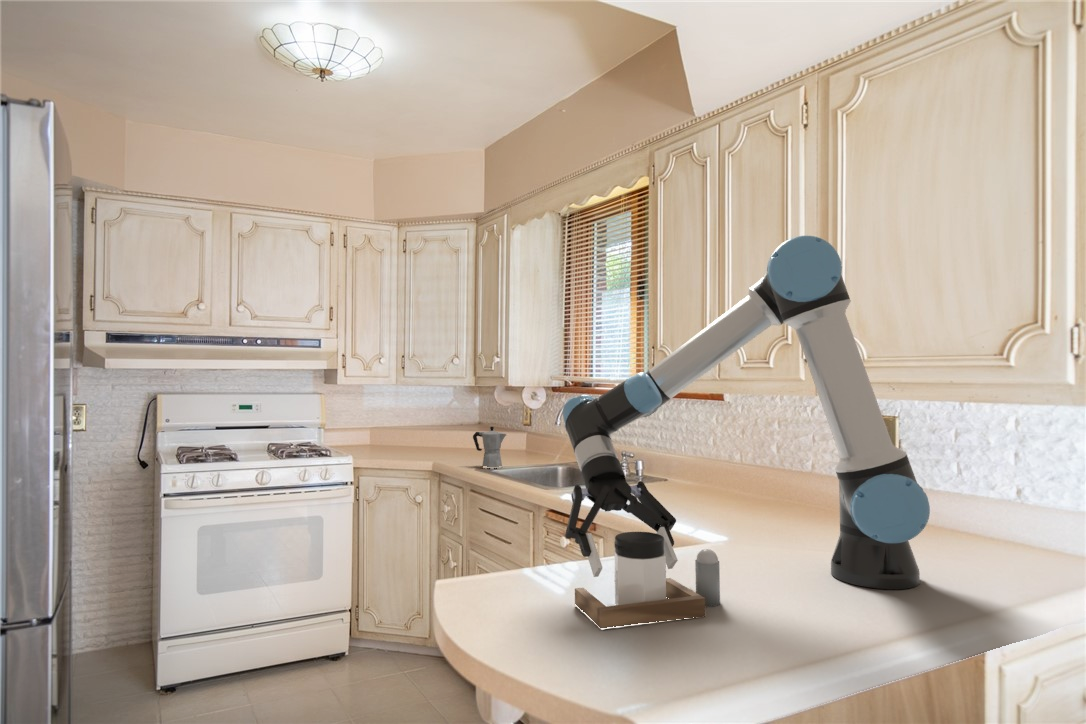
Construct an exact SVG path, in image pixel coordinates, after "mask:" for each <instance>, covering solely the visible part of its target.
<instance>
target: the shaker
mask: <svg viewBox="0 0 1086 724" xmlns="http://www.w3.org/2000/svg"><path fill="white" fill-rule="evenodd" d="M694 561H695V563H694V564H695V565H694V566H695V567H694V568H695V569H694V571H695V592H696V593H697V594H699V595H701V596H702V597H704V598H705V607H717V606H719V605H721V583H720V582H721V581H720V580H721V578H720V569H721V568H720V560H719V557H718V555H717V554H716V552H715V551H714V550H712V549H709V548H704V549H702V550H700V551H698V553H697V555H696V559H695V560H694Z"/></svg>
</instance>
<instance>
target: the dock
mask: <svg viewBox="0 0 1086 724" xmlns="http://www.w3.org/2000/svg"><path fill="white" fill-rule="evenodd" d="M666 597H667V598H669V599H667V598H666V599H665V600H656V601H648V602H640V603H631V604H623V605H610V606H608V605H607V606H606V605H605V604H604V603H603V602H602V601H601V600H599V599H598V598H596V597H595V596H594V595H593V594H591V593H590V592H589V591H588V590H587V589H585V587H577V588H574V605H575V604H576V605H577V606H578V607H579V608H580V609H581V610H583V612H585V613H586V614H587V615H588V616H589V617H590V618H591V619H592V620H593V621H594V622H595V623H596V624H597V625H598V626H599V627H600V628H607V627H613V626H614V627H616V626H624V625H631V624H638V623H649V622H656V621H657V622H659V621H667V620H676V619H684V618H693V617H694V619H697V618H696V617H701V618H705V617H706V606H705V598H704V597H702V596H701V595H699V594H697V593H696V591H694V590H692V589H691V588H688V587H687V586H685V585H683V584H682V583H679V582H678V581H677V580H675V579H673V578H671V577H666Z"/></svg>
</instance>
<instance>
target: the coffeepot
mask: <svg viewBox="0 0 1086 724" xmlns="http://www.w3.org/2000/svg"><path fill="white" fill-rule="evenodd" d="M494 429H495V428H494V426H490V430H488V431H486V432H484V431H476V432H475V433H474V434H473V435H472V439H473V442H474V445H475V448H476V451H480V452H482V451H483V449H484V453H483V459H482V465H483V466H487V467H499V466H502V467H503V463H502V456H501V445H502V443H503V440H504V439H505V437H506V436H507V433H503V432H499V431H495V430H494ZM478 437H480V438H482V444H483V448H480V443H479V441H478Z"/></svg>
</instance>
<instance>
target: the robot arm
mask: <svg viewBox="0 0 1086 724" xmlns="http://www.w3.org/2000/svg"><path fill="white" fill-rule="evenodd" d="M841 260H842V259H841V258H840V255H839V253H838V251H837V249H836V248H835V247H834V246H833V245H832V244H831V243H829V241H827V240H825V239H823V238H821V237H818V236H814V235H798V236H794V237H791V238H790V239H788V240H786V241H784V242H782V243H781V244H780V245H779V246H778V247H777V248H775V250H774V251H773V252H772V253H771V255H770V258H769V259H768V263H767V267H766V273H765V274H764V275H763V276H762V277H761V278H760V279H759V280H758V281H756V283H754V284H753V285H752V286H750V287H749V289H748V295H747V296H746V297H745V298H743V299H742V300H740V301H739V302H737V303H736V304H735V305H734V306H733V307H731V308H729V309H728V310H727V311H726V312H725V313H722V314H721V316H719V317H717V319H715V320H714V321H712V322H711V323H710V324H708V325H707V326H706V327H704V328H703V329H702V330H701V331H699V332H698V333H696V334H695V335H694V336H693V337H691V338H690V339H689V340H687V341H686V342H685V343H683V344H682V345H681V346H679V347H678V348H677V349H675V350H674V351H673V352H671V353H670V354H668V355H667V356H666V357H665V358H663V359H662V360H660V361H659V362H658V363H657V364H656V365H654V366H653V367H651V368H650V369H649V370H648V371H646V372H644V371H642V372H641V371H640V372H638V373H636V374H634V375H631V376H629V377H627V378H626V379H625V380H623V382H620V383H619V384H618V385H616V386H614V387H612V388H611V389H609V390H607V391H606V392H605V393H603V394H602V395H600V396H597V397H596V398H594V397H593V396H591V395H589V394H581V395H579V396H574V397H571V398H570V399H569V400H567V401H566V403H565V404H564V405H563V407H562V417H563V421H564V428H565V431H566V432H567V434H568V437H569V438H568V439H569V441H570V445H571V447H572V450H573V453H574V456H575V458H576V461H577V465H578V468H579V471H580V472H581V478H582V480H583V484H584V486H585V488H584V487H583V488H582V487H581V486H580V485H579V484H576V485H574V488H573V490H572V492H571V494H570V495H571V501H572V505H571V509H570V512H569V513H570V514H569V517H568V522H567V525H566V529H565V533H564V537H565V538H566V539H567V540H571V539H574V542H575V544H578V546H579V549H580V553H581V555H582V557H584V558H586V557H587V558H588V562H589V565H590V569H591V573H592V575H593V578H597V577H599V576H600V574H601V572H602V570H603V565H602V561H601V558H600V555H599V552H598V549H597V546H596V543H595V540H594V535H593V534H592V533H593V532H589V529H590V527H591V526H592V524H593V522H594V520H595V519H596V517H597V516H598V514H599V511H600V510H602V511H604V512H606V513H607V512H611V511H617V512H618V511H622V510H623V511H625V512H626V513H628V514H632V515H633V516H634V517H636V518H637V519H638V520H640V521H641V522H643V523H644V524H645V525H647V526H648V527H650V528H651V529H652V530H654V531H655V532H656V533H655V534H659V535H661V536H663V537H664V555H665V556H666V567H667V569H668V570H670V569H674V567H675V565H676V563H677V562H678V561H679V560H678V558H677V555H676V552H675V550H674V548H673V547H674V545H675V540H674V538H673V536H672V532H671V530H673V528H674V526H675V525H676V522H677V519H676V517H674V515H673V514H671V512H669V510H667V508H665V506H663V504H662V503H661V502H660V501H659V500H658V499H657V498H656V497H655V496H654V495H653V494H652V493H651V492H650V490H648V488H647V486H646V484H645V482H644V481H640V480H639V481H638V482H637V484H635V485H634V484H633V485H630V484H629V483H628V482H627V480H626V477H625V472H624V470H623V467H622V464H621V462H620V460H619V457H618V454H617V451H616V448H615V446H614V443H613V441H612V438H611V435H612V434H614V433H616V432H617V431H619V430H620V429H622V428H624V427H626V426H628V425H629V424H631V423H633V422H635V421H637V420H638V419H641V418H647V417H650V416H652V414H654V413H656V412H657V411H658V409H659V408H660V407H662V406H663V405H664V404H667V403H668V402H669V401H670V400H671V399H672V398H674V397H675V396H677V395H678V394H679V393H680V392H681V393H682V391H684V390H685V389H686V388H687V387H689V386H691V385H692V384H693V383H694V382H696V381H697V380H699V379H700V378H702V377H703V376H704V375H706V374H707V373H709V371H711V370H712V369H714V368H715V367H717V366H718V365H719V364H720V363H722V362H723V361H725V360H726V359H728V358H729V357H730V356H732V355H733V354H734V353H735V352H737V351H738V350H740V349H741V348H742V347H744V346H745V345H747V344H748V343H749V342H751V341H752V340H753V339H755V338H757V336H759V335H760V334H762V333H763V332H765V331H766V330H768V328H770V327H772V326H778V327H779V326H780V327H781V325H783V324H785V325H787V326H789V327H791V328H793V329H794V330H795V332H796V335H797V337H798V341H799V343H800V346H801V350H802V352H803V355H804V359H805V361H806V363H807V366H808V369H809V372H810V375H811V377H812V380H813V382H814V383H813V384H814V386H815V389H816V392H817V394H818V398H819V401H820V403H821V406H822V408H823V412H824V414H825V417H826V421H827V424H828V426H829V429H830V432H831V434H832V438H833V440H834V442H835V443H834V444H835V446H836V448H837V452H838V454H839V461H838V462H837V464H836V466H835V468H834V471H835V474H836V476H837V478H838V490H839V492H838V493H839V499H838V501H839V502H838V503H839V536H838V539H837V543H836V546H835V548H834V551H833V554H832V558H831V560H830V574H831V575H832V577H834V578H835V579H837V580H839V581H841V582H844V583H848V584H851V585H856V586H861V587H863V588H864V587H865V588H871V589H872V588H873V589H880V590H882V589H883V590H905V589H912V588H916V587H917V586H919V585H920V581H921V580H920V578H921V577H920V568H919V565H918V563H917V561H916V558H915V555H914V552H913V549H912V547H911V545H910V540H913V539H915V538H916V537H917V536H919V535H920V534H921V533H922V532H923V531H924V529H925V528H926V526H927V524H928V522H929V519H930V513H931V508H930V501H929V498H928V495H927V493H926V492H925V491H924V489H923V487H922V486H921V485H920V484H919V483H918V481H917V478H916V476H915V473H914V470H913V468H912V466H911V463H910V460H909V457H908V455H907V452H906V451H905V450H903V449H901V448H898V447H897V446H895V445H894V444H893V441H892V439H891V436H890V433H889V431H888V427H887V425H886V423H885V420H884V416H883V414H882V411H881V408H880V405H879V403H878V400H877V398H876V395H875V392H874V390H873V386H872V385H871V384H872V383H871V380H870V378H869V375H868V373H867V370H866V367H865V365H864V361H863V359H862V357H861V353H860V351H859V348H858V345H857V341H856V340H855V337H854V335H853V330H852V328H851V325H850V323H849V320H848V318H847V315H846V312H847V309H848V308H849V305H850V303H851V301H852V300H851V299H850V296H849V293H848V289H847V287H846V284H845V281H844V279H843V276H842V269H843V266H842V261H841ZM585 498H587V499H588V500H589V501H591V502H592V503H593V505H592V506H591V508H590V510H589V511H588V514H587V515H586V517H585V518H584V520H583V522H582V524H581V526H580V527H579V528H578V527H577V523H578V519H579V516H580V510H581V505H582V502H583V501H585ZM628 502H629V504H628Z"/></svg>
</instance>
